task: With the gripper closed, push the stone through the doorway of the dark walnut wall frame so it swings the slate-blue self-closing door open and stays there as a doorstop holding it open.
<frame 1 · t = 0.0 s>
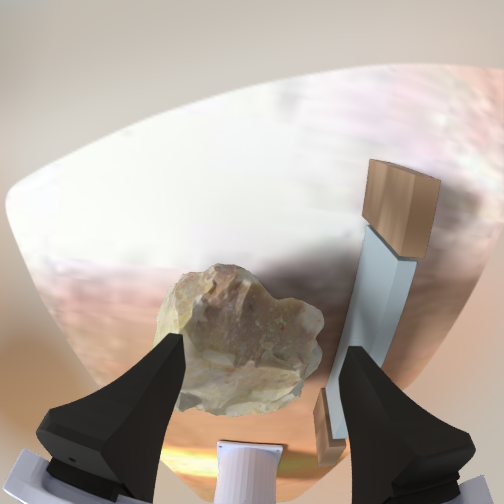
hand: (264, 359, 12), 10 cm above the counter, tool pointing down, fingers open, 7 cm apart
door: (360, 345, 20), point 3 cm above the counter, hinge at 0.0°
stone: (250, 311, 24), on the counter
door frame: (349, 318, 23), on the counter
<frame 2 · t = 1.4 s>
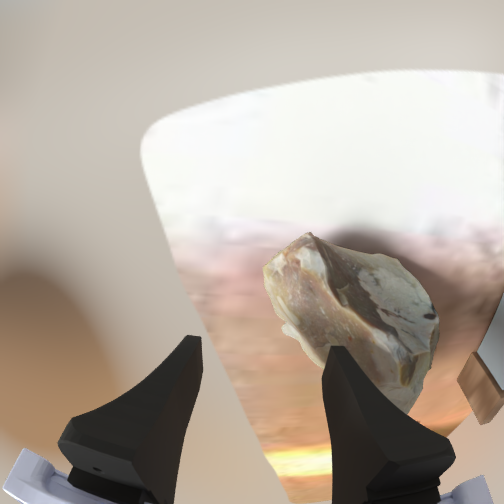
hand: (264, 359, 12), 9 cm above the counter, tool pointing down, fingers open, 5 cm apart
stone: (435, 318, 16), point 5 cm above the counter
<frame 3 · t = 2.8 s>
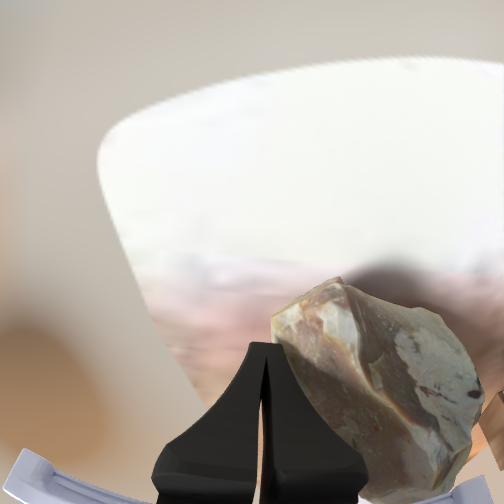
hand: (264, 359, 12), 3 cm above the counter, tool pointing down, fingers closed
stone: (476, 392, 11), point 6 cm above the counter, touching gripper
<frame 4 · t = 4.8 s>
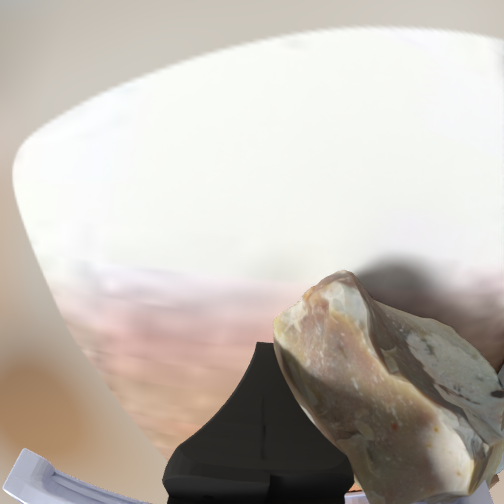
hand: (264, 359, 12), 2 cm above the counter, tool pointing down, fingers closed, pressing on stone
stone: (499, 398, 9), point 5 cm above the counter, touching gripper
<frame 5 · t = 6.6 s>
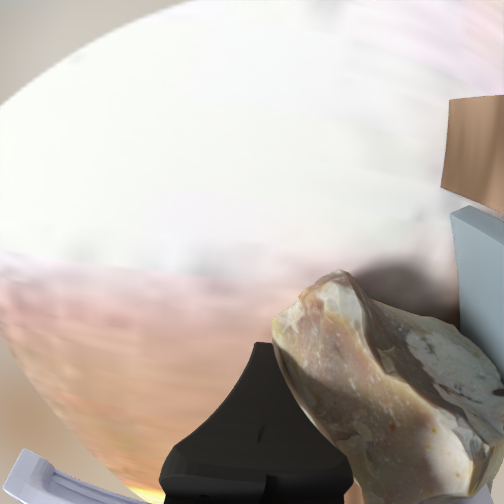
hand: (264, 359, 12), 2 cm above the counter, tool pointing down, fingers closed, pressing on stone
door: (491, 373, 11), point 3 cm above the counter, hinge at 27.6°, touching stone
stone: (502, 396, 8), point 6 cm above the counter, touching door, gripper
door frame: (407, 347, 14), on the counter
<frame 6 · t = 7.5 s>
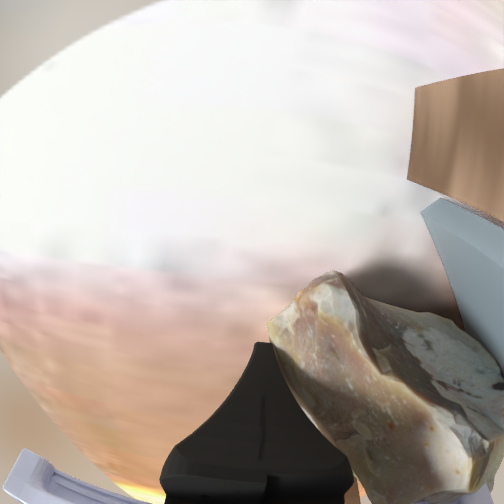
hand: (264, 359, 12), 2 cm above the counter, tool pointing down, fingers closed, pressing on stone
door: (499, 357, 10), point 3 cm above the counter, hinge at 41.0°, touching stone
stone: (502, 390, 9), point 5 cm above the counter, touching door, gripper
door frame: (379, 346, 14), on the counter
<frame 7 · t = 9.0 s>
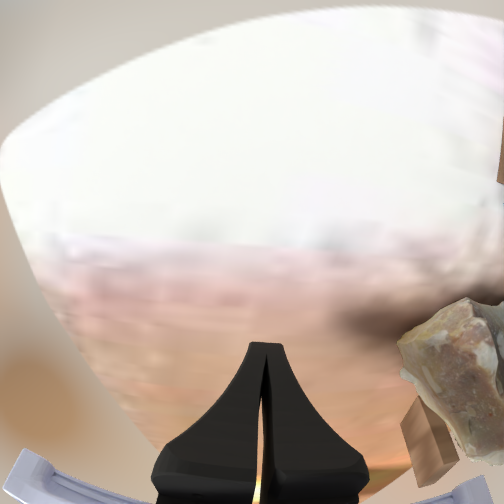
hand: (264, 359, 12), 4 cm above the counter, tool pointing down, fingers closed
door frame: (468, 308, 16), on the counter
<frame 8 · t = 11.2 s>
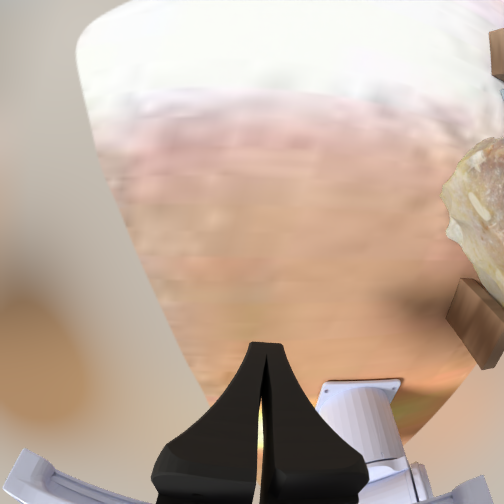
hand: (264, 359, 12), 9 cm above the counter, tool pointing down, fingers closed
door frame: (491, 179, 17), on the counter
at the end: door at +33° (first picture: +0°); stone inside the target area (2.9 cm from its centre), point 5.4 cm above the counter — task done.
